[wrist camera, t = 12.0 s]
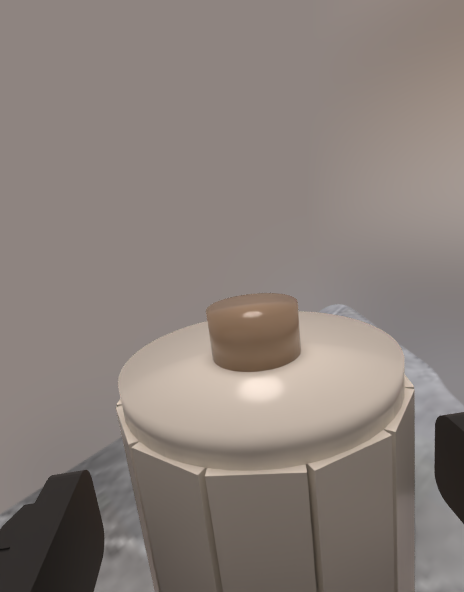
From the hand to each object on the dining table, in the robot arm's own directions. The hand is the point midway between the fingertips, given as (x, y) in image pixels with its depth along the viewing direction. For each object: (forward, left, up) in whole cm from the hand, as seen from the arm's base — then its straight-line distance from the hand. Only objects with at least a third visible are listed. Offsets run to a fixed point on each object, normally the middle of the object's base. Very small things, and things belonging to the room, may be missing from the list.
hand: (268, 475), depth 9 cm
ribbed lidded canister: (0, 0, -9) cm, 10 cm away
